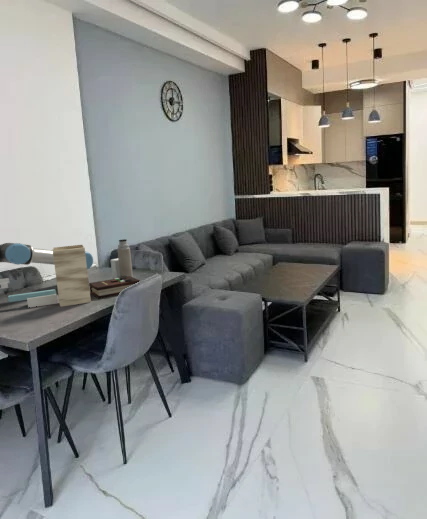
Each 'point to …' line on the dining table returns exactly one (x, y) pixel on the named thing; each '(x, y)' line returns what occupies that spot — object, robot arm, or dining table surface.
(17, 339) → the dining table surface
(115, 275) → the skincare box
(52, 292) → the bar
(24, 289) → the dining table surface
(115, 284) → the decorative book
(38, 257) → the robot arm
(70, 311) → the dining table surface
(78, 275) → the pedestal
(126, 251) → the thermos bottle
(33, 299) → the dock
